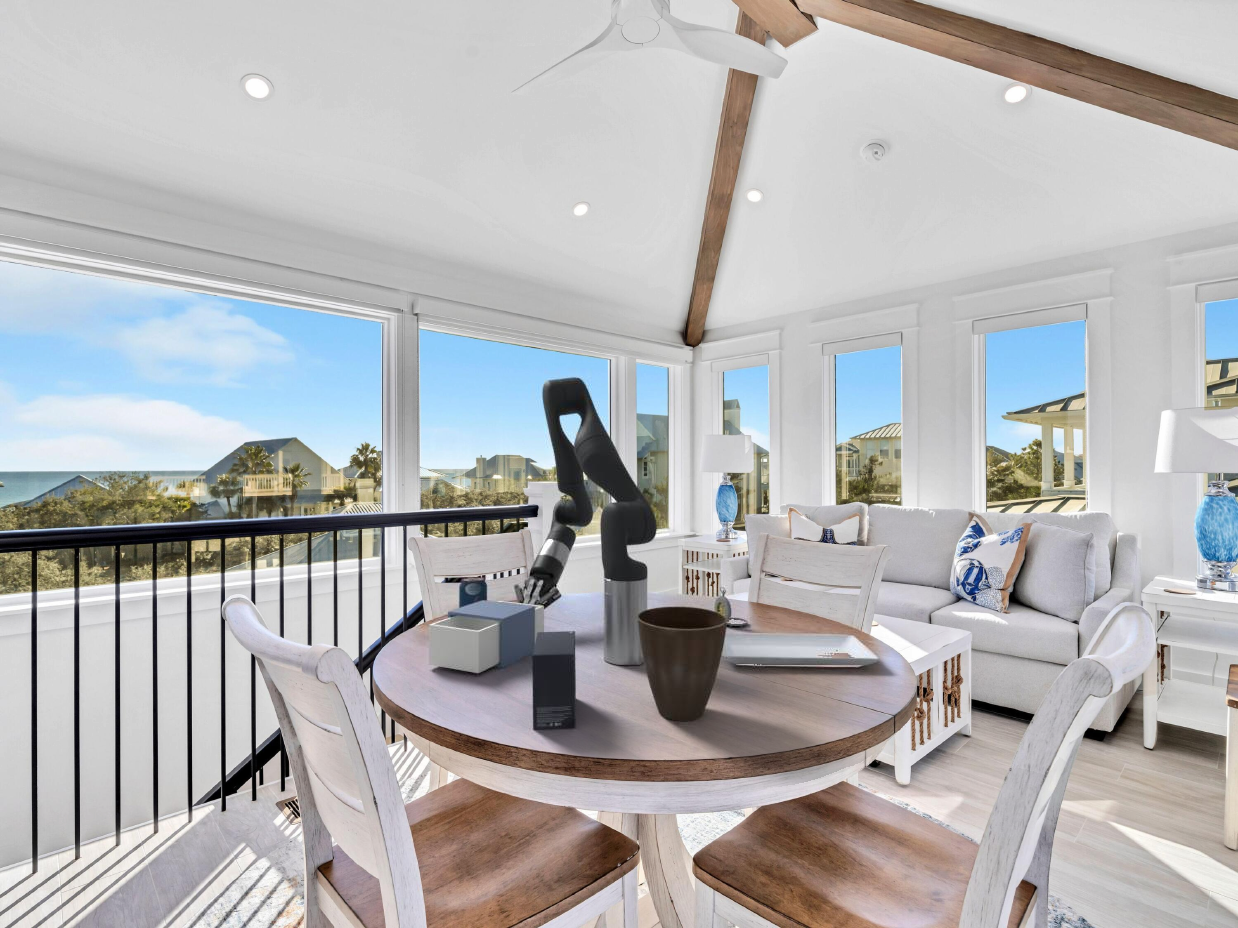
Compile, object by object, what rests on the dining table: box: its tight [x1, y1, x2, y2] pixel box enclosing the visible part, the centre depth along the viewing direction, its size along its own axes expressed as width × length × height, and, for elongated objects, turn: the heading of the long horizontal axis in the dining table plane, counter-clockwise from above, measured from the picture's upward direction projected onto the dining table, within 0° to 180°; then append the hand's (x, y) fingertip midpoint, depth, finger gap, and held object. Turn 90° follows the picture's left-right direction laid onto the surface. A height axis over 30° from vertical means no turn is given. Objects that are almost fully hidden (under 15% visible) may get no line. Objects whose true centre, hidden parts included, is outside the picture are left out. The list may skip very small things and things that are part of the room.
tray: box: [721, 632, 880, 666], centre depth 132 cm, size 17×32×4 cm, turn 88°
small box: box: [531, 630, 577, 731], centre depth 103 cm, size 13×7×12 cm, turn 4°
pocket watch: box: [714, 586, 749, 627], centre depth 160 cm, size 8×8×10 cm
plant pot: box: [637, 606, 728, 722], centre depth 103 cm, size 15×15×16 cm
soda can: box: [458, 576, 488, 608], centre depth 158 cm, size 7×7×12 cm
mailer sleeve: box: [447, 600, 535, 669], centre depth 134 cm, size 14×12×10 cm
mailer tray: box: [428, 600, 545, 674], centre depth 133 cm, size 12×24×8 cm, turn 155°
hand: (523, 622), depth 145 cm, fingers closed
